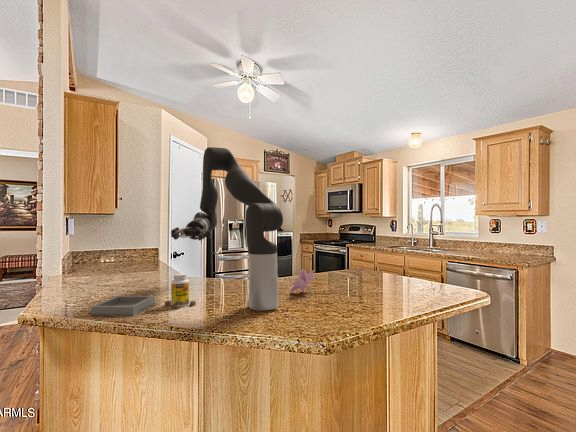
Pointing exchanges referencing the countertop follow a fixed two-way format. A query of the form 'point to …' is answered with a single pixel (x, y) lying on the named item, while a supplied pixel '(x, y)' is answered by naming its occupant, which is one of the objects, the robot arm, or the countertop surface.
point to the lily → (302, 281)
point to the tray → (123, 306)
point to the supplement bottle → (180, 290)
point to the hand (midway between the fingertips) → (187, 237)
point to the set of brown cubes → (176, 306)
